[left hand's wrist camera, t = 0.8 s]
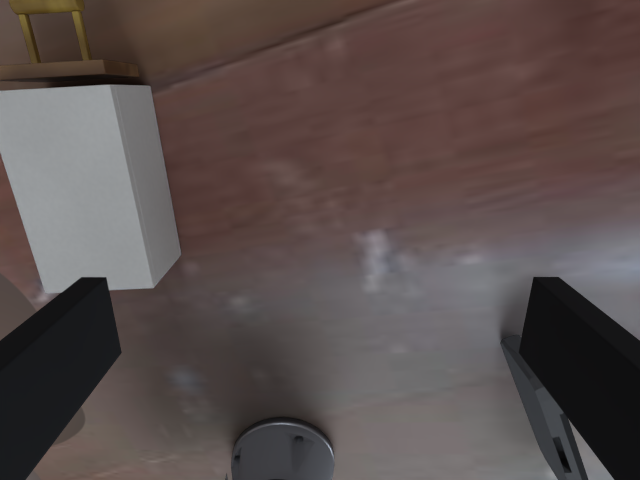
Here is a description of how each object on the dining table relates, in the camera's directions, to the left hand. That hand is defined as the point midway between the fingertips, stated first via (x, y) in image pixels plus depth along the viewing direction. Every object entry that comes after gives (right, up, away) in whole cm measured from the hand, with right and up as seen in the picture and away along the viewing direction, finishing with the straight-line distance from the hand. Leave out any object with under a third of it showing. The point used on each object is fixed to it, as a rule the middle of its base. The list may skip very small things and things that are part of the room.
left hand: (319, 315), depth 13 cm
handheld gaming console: (+30, -19, +45) cm, 57 cm away
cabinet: (-23, +9, +34) cm, 43 cm away
